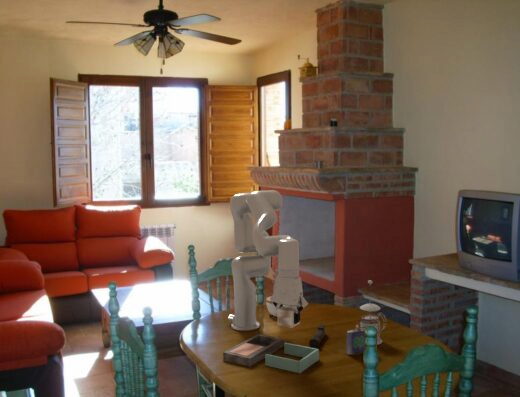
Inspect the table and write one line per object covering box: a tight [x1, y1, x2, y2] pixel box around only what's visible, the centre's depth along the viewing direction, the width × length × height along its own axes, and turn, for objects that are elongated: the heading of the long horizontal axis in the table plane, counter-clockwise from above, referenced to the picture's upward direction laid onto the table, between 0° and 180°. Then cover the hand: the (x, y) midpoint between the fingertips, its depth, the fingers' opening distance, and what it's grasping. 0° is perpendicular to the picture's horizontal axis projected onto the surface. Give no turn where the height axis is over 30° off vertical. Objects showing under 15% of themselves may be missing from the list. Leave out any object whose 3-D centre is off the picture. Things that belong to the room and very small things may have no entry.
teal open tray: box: [264, 342, 320, 374], centre depth 200 cm, size 14×15×4 cm
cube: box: [276, 305, 301, 329], centre depth 200 cm, size 6×6×6 cm
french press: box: [359, 279, 387, 346], centre depth 220 cm, size 10×12×25 cm
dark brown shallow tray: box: [222, 333, 285, 367], centre depth 210 cm, size 12×24×3 cm, turn 148°
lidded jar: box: [265, 296, 285, 317], centre depth 260 cm, size 11×11×9 cm
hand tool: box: [308, 324, 326, 349], centre depth 223 cm, size 19×4×5 cm, turn 160°
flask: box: [346, 324, 366, 356], centre depth 208 cm, size 9×3×11 cm, turn 109°
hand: (288, 320), depth 200 cm, fingers closed on cube, 6 cm apart
